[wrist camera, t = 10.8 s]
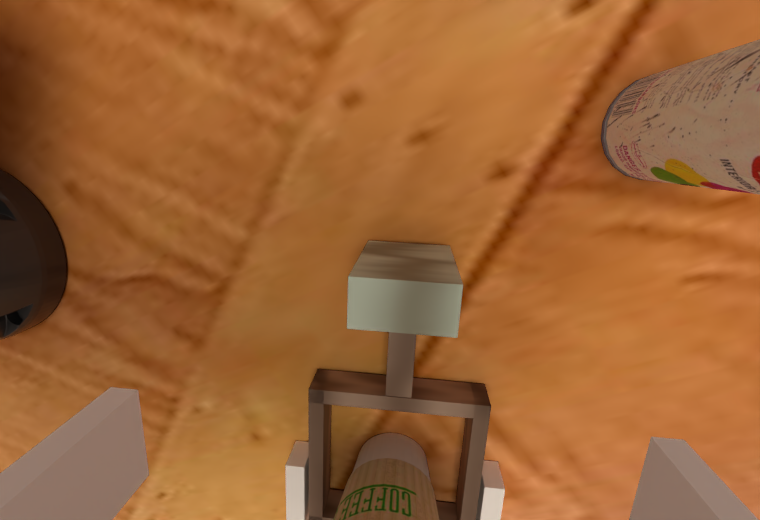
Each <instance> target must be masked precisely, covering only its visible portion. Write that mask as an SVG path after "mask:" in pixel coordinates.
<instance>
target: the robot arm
mask: <svg viewBox="0 0 760 520" xmlns="http://www.w3.org/2000/svg"><path fill="white" fill-rule="evenodd" d="M65 281H66V260H65V253H64V249H63V245H62V242H61V239H60V236H59V233H58V231H57V229H56V227H55V225H54V223H53V221H52V219H51V217H50V216H49V214H48V213H47V211H46V210H45V208H44V207H43V206H42V204H41V203H40V202H39V201H38V199H37V198H36V197H35V196H34V195H33V194H32V193H31V192H30V191H29V190H28V189H27V188H26V187H25V186H24V185H23V184H21V183H20V182H19V181H18V180H16V179H15V178H14V177H12V176H11V175H9V174H7V173H6V172H4V171H2V170H0V340H1V339H5V338H8V337H11V336H13V335H15V334H18V333H20V332H22V331H24V330H26V329H29V328H31V327H33V326H35V325H37V324H39V323H40V322H42V321H43V320H45V319H46V318H47V317H48V316H49V315H50V314H51V313H52V312H53V310H54V309H55V308H56V306H57V305H58V303H59V301H60V299H61V296H62V294H63V290H64V287H65ZM148 475H149V470H148V463H147V455H146V447H145V440H144V432H143V424H142V417H141V409H140V401H139V393H138V390H136V389H125V388H114V387H110V388H109V389H108V390H106V391H105V392H104V393H103V394H101V395H100V396H99V397H97V398H96V399H95V400H94V401H92V402H91V403H90V404H89V405H87V406H86V407H85V408H83V409H82V410H81V411H80V412H78V413H77V414H76V415H74V416H73V417H72V418H71V419H69V420H68V421H67V422H65V423H64V424H63V425H62V426H60V427H59V428H58V429H56V430H55V431H54V432H53V433H51V434H50V435H49V436H47V437H46V438H45V439H44V440H42V441H41V442H40V443H39V444H37V445H36V446H35V447H33V448H32V449H31V450H30V451H28V452H27V453H26V454H24V455H23V456H22V457H21V458H19V459H18V460H17V461H15V462H14V463H13V464H12V465H10V466H9V467H8V468H6V469H5V470H4V471H3V472H1V473H0V520H112V519H113V518H114V517H115V516H116V515H117V513H118V512H119V511H120V510H121V508H122V507H123V506H124V505H125V504H126V502H127V501H128V500H129V499H130V497H131V496H132V495H133V494H134V493H135V491H136V490H137V489H138V488H139V486H140V485H141V484H142V483H143V482H144V480H145V479H146V478H147V477H148ZM629 520H758V519H757V518H756V517H755V516H754V514H753V513H752V512H751V511H750V510H749V509H748V508H747V507H746V506H745V505H744V504H743V503H742V502H741V501H740V499H739V498H738V497H737V496H736V495H735V494H734V493H733V492H732V491H731V490H730V489H729V488H728V487H727V485H726V484H725V483H724V482H723V481H722V480H721V479H720V478H719V477H718V476H717V475H716V474H715V473H714V472H713V470H712V469H711V468H710V467H709V466H708V465H707V464H706V463H705V462H704V461H703V460H702V459H701V458H700V457H699V455H698V454H697V453H696V452H695V451H694V450H693V449H692V448H691V447H690V446H689V445H688V444H687V443H686V441H685V440H680V439H670V438H659V437H651V439H650V443H649V447H648V451H647V454H646V458H645V462H644V466H643V469H642V473H641V477H640V481H639V484H638V488H637V492H636V496H635V499H634V503H633V507H632V511H631V514H630V518H629Z"/></svg>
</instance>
